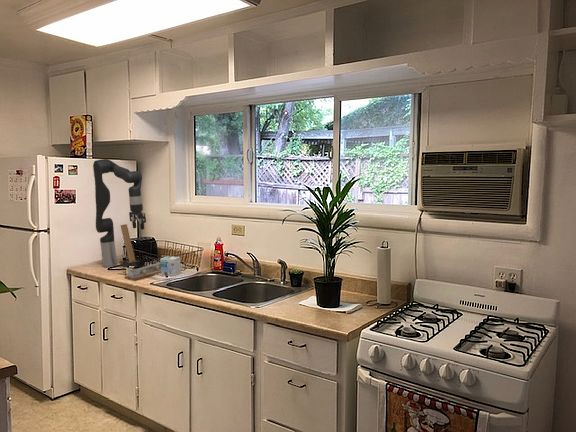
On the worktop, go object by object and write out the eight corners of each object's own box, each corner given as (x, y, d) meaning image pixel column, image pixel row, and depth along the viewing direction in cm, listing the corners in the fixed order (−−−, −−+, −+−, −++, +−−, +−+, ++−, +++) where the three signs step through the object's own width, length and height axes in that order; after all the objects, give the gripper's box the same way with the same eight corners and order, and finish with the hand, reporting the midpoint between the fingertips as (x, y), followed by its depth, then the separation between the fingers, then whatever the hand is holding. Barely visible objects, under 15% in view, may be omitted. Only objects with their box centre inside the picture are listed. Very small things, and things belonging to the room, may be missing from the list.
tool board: (124, 278, 296) (123, 271, 295) (161, 267, 316) (160, 261, 316) (135, 281, 288) (134, 273, 288) (172, 270, 309) (171, 263, 308)
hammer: (121, 270, 326) (111, 227, 325) (127, 268, 330) (117, 226, 329) (139, 267, 315) (129, 223, 313) (145, 265, 319) (135, 222, 317)
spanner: (128, 276, 294) (128, 270, 294) (162, 266, 313) (162, 261, 313) (133, 277, 291) (132, 271, 291) (167, 267, 310) (166, 262, 310)
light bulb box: (161, 275, 297) (159, 258, 295) (166, 272, 303) (165, 256, 302) (176, 276, 294) (174, 259, 292) (181, 273, 300) (180, 256, 298)
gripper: (124, 203, 299) (127, 228, 302) (137, 204, 290) (140, 230, 293) (134, 201, 304) (137, 226, 307) (147, 203, 296) (150, 228, 298)
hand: (138, 228), depth 300 cm, fingers open, 8 cm apart
